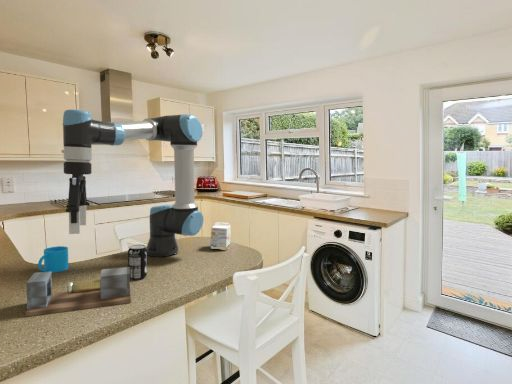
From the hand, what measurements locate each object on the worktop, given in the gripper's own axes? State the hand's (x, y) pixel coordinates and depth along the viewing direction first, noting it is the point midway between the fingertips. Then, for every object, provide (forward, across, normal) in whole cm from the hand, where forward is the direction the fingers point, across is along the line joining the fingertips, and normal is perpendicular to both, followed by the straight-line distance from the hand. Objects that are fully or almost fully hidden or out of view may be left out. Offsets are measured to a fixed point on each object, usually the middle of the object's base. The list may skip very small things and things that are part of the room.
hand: (78, 229), depth 99 cm
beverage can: (+22, -13, +18) cm, 31 cm away
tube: (+19, +4, +6) cm, 20 cm away
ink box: (+21, -45, +58) cm, 77 cm away
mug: (+22, -30, -13) cm, 39 cm away
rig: (+22, +4, +3) cm, 22 cm away
